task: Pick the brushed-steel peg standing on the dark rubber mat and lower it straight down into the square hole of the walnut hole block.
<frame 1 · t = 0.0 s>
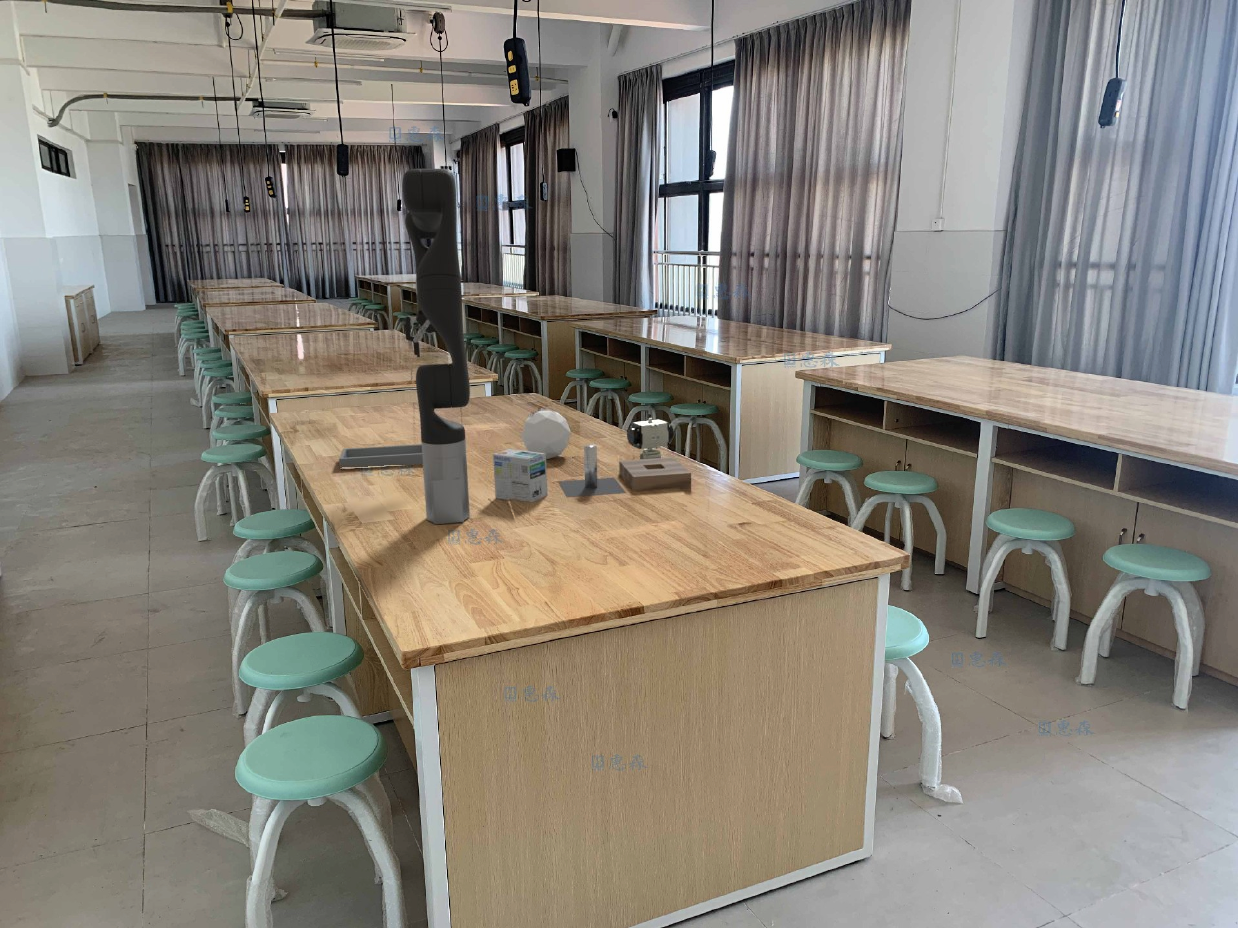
hand: (435, 356, 230), 29 cm above the table, tool pointing down, fingers open, 8 cm apart
geodesic sphere: (546, 457, 247), on the table
hole block: (654, 482, 220), on the table
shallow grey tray: (386, 461, 244), on the table
pneumatic valve: (651, 463, 239), on the table
rubber mat: (591, 489, 215), on the table
light bulb box: (521, 499, 209), on the table
steel peg: (591, 486, 215), point 1 cm above the table, touching rubber mat
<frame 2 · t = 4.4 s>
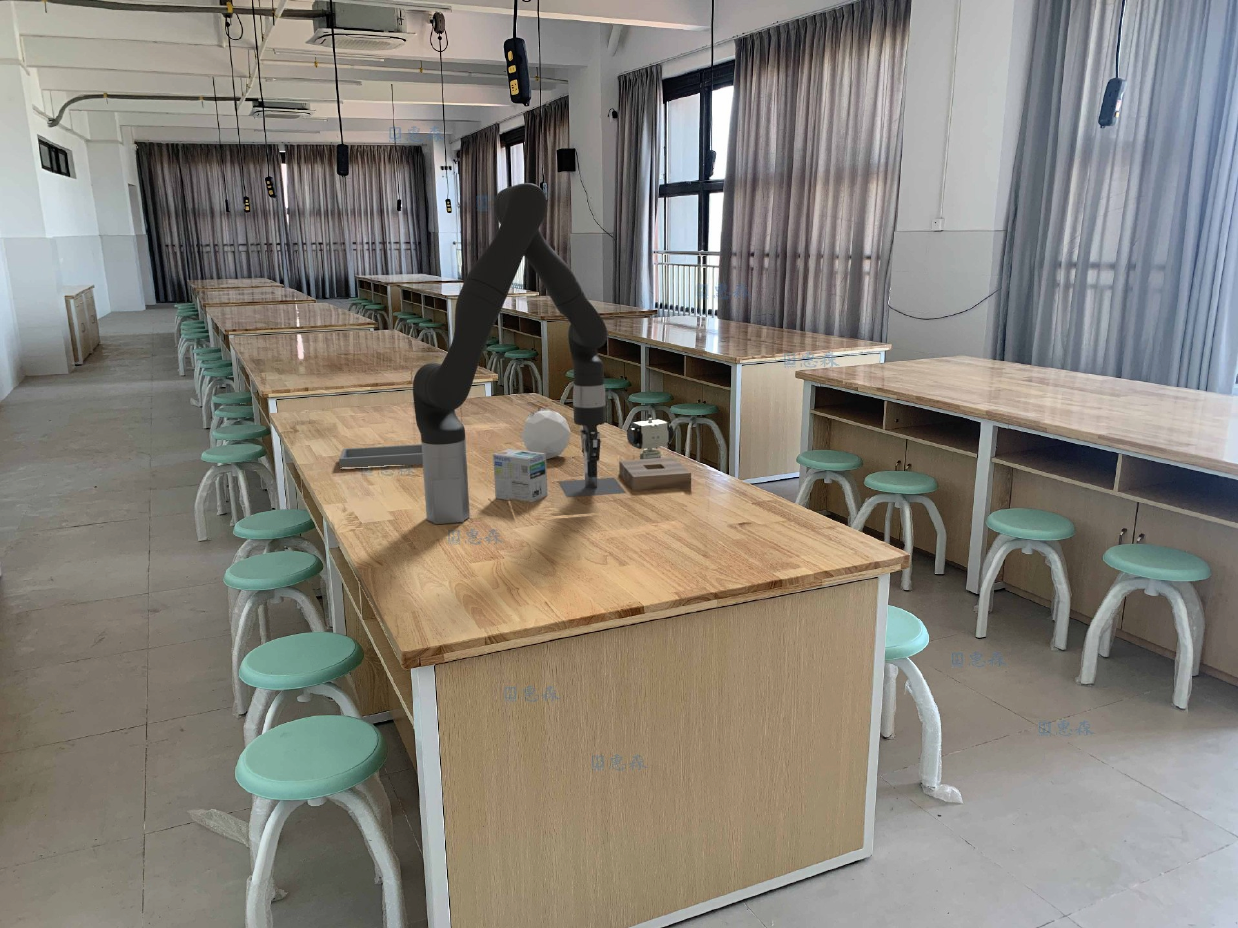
hand: (591, 474, 214), 4 cm above the table, tool pointing down, fingers closed on steel peg, 3 cm apart
steel peg: (591, 486, 215), point 1 cm above the table, touching gripper, rubber mat
everything else where it was.
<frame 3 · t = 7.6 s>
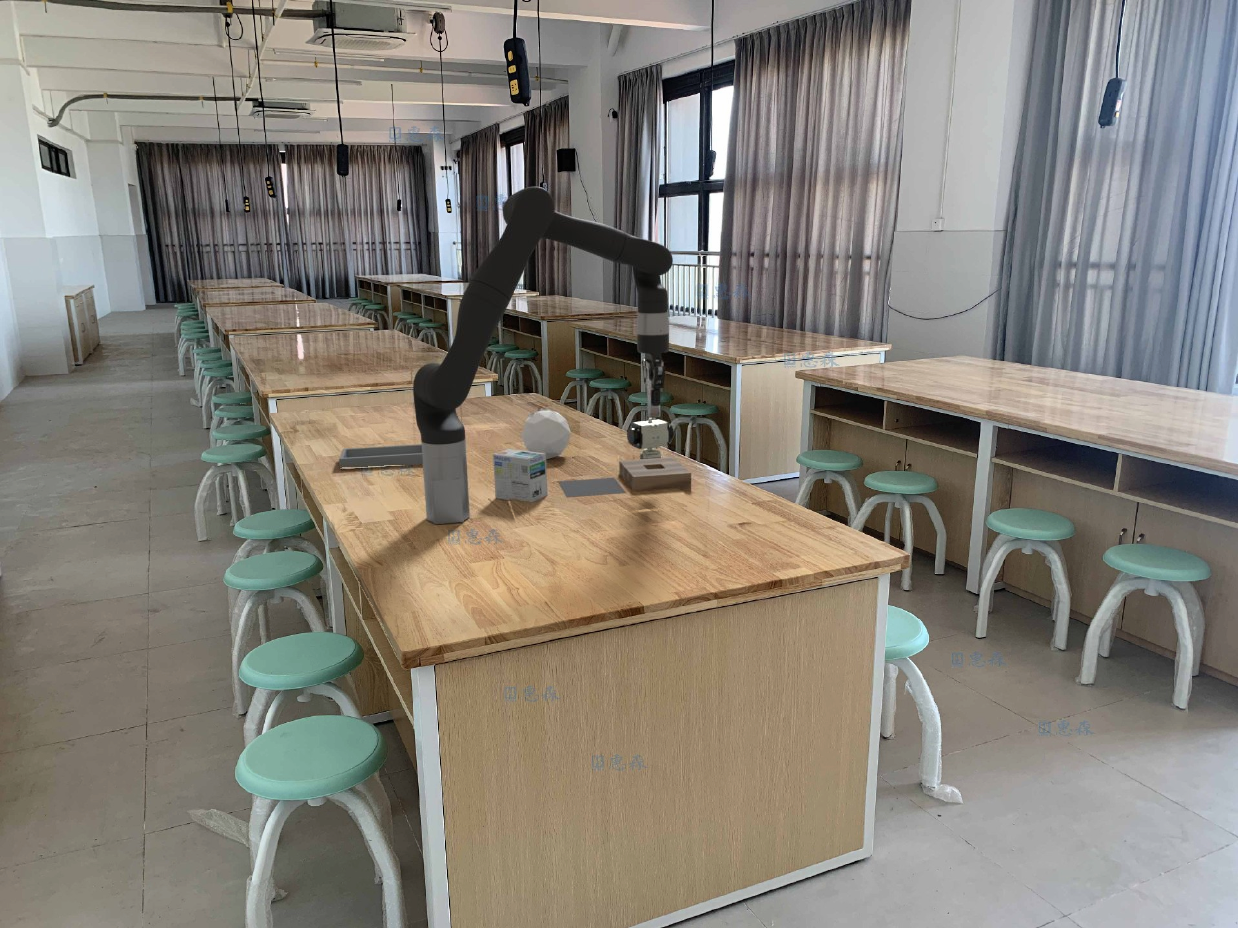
hand: (653, 404, 215), 19 cm above the table, tool pointing down, fingers closed on steel peg, 3 cm apart
steel peg: (654, 416, 216), point 16 cm above the table, touching gripper
everything else where it was.
when the fingers open (6 cm above the table, at t = 10.4 s): steel peg drops 3 cm, resting in hole block.
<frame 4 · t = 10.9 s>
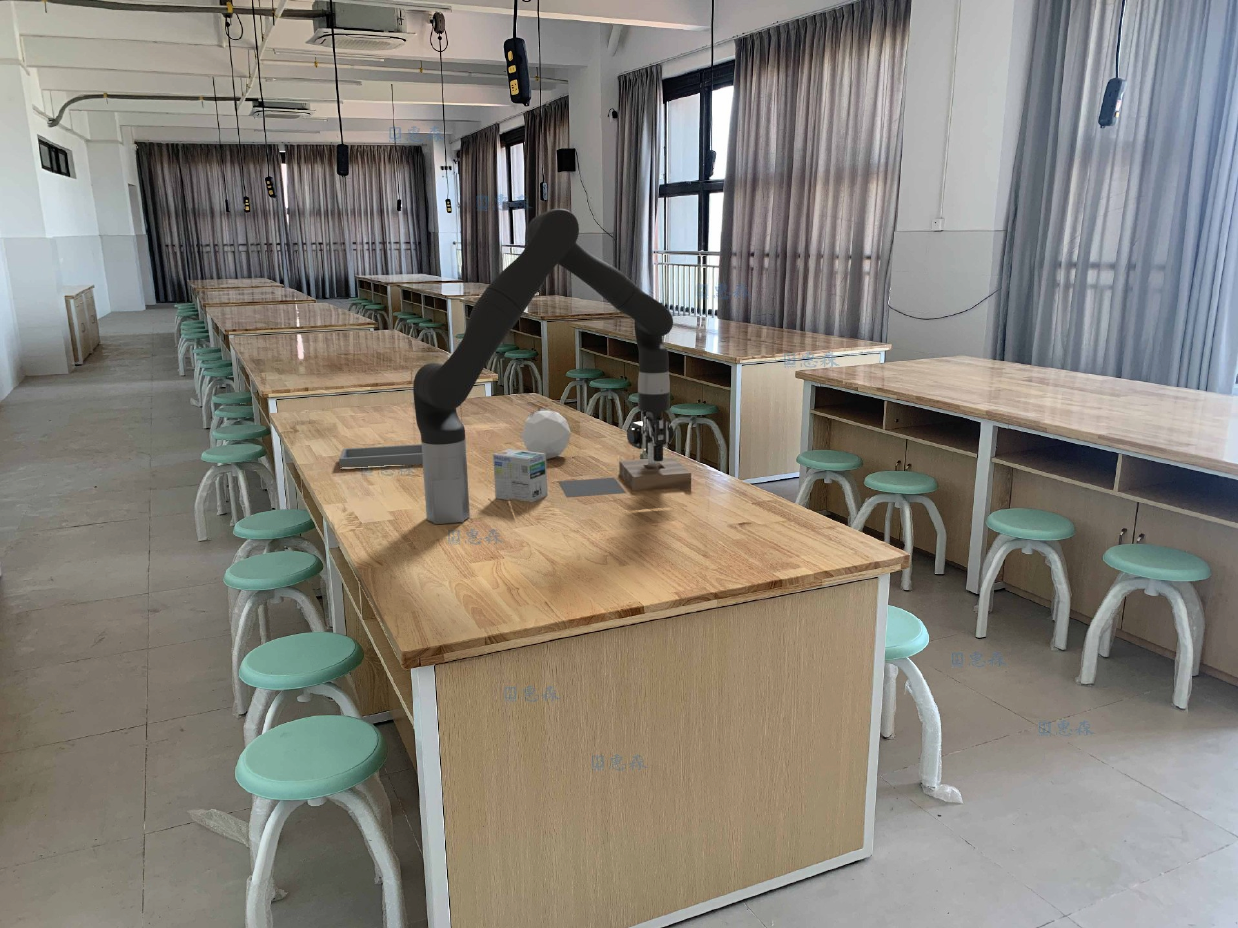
hand: (654, 457, 219), 6 cm above the table, tool pointing down, fingers open, 7 cm apart
steel peg: (654, 482, 220), resting in hole block
everything else where it was.
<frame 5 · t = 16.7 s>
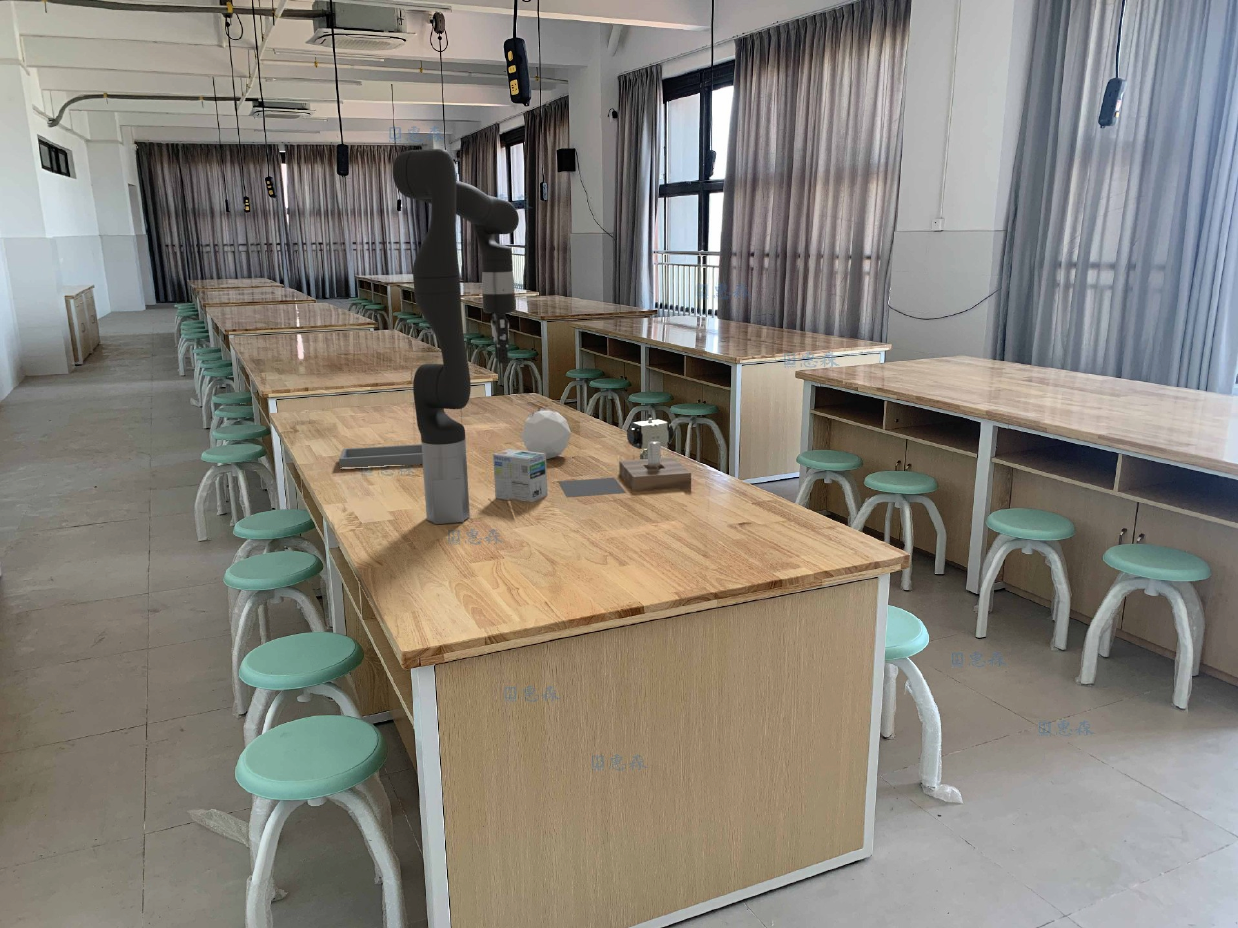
hand: (501, 360, 214), 30 cm above the table, tool pointing down, fingers open, 8 cm apart
nothing on the table moved.
at the end: steel peg 0.1 cm off-centre on the hole block, point 0.0 cm above the hole block's base; steel peg tilted 0°; the gripper is holding nothing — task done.
